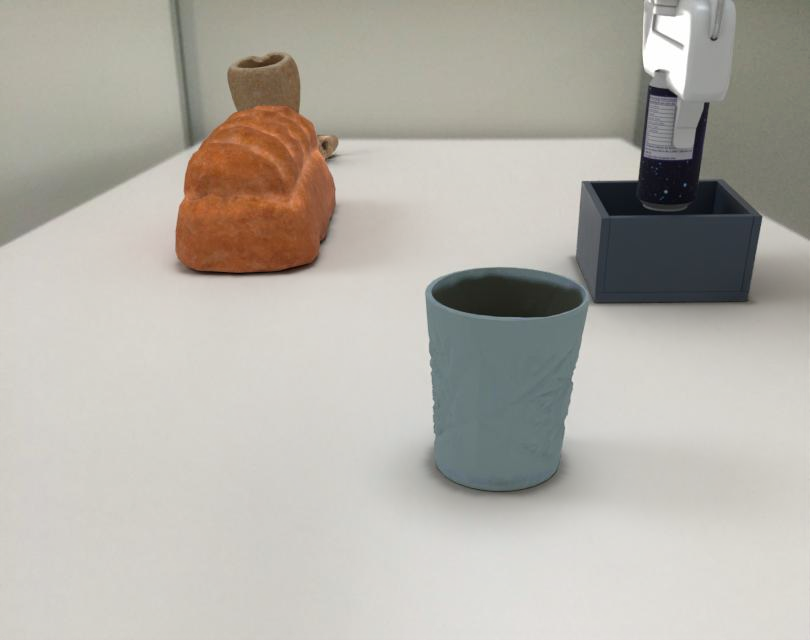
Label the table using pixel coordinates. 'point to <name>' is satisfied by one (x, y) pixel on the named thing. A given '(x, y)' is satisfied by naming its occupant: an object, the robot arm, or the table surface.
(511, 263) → the table surface
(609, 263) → the bin
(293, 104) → the stone cup
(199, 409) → the table surface
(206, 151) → the bread
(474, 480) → the teal cup
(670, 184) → the beverage can
